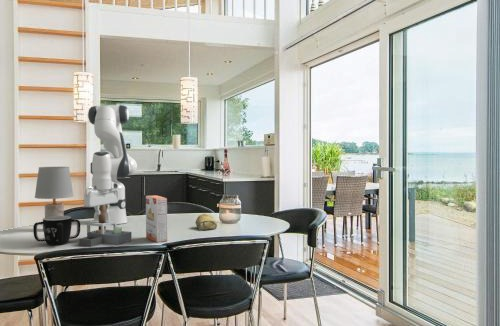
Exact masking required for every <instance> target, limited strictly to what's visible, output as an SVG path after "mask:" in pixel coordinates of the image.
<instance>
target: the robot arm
mask: <svg viewBox="0 0 500 326" xmlns="http://www.w3.org/2000/svg"><path fill="white" fill-rule="evenodd" d="M87 119H88V121H89V123H90V124H91V125H93V128H94V129H93V130H94V135H95V136H96V137H97V138H98V139H99V140H101V141H102V142H103V148H104V149H105V151H96V152H94V153H93V154H92V161H91V162H90V164H89V165H90V174H92V178H91V186H88V187H87V188H86V189H85V192H84V197H83V206H84V207H85V208H94V211H95V212H94V214H93V219H91V220H90V221H89V223H90V222H95V221H99V215H101V211H100V210H99V208H100V205H106V221H117V225H120V224H121V225H122V224H126V223H128V222H129V221H128V217H127V216H128V215H127V212H126V211H127V210H126V203H127V200H126V199H127V198H126V187H125V185H124V183H122V182H121V181H119V180H118V179H125V178H127V177H128V176H133V175H135V174H136V172H137V170H138V164H137V161H136V160H135V158H133V157H131V156H130V155H129V153H128V152H127V149H126V148H127V147H126V143H125V139H124V135H123V127H122V126H124V124H127V123H128V121H129V119H130V111H129V109H128V107H127V106H126V105H121V104H120V105H117V104H108V105H98V106H97V105H95V106H91V107H89V108H88V111H87ZM111 155H112V156H113V157H111ZM104 196H105V197H104Z"/></svg>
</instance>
